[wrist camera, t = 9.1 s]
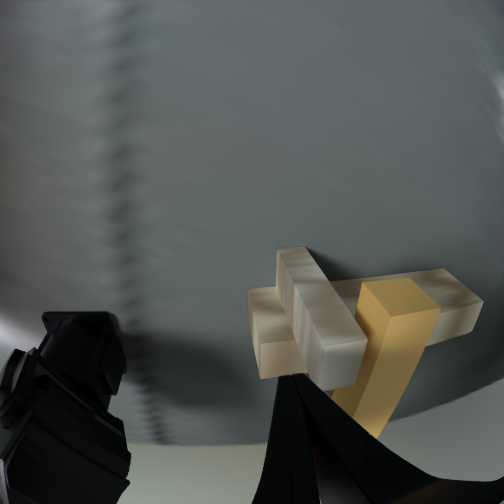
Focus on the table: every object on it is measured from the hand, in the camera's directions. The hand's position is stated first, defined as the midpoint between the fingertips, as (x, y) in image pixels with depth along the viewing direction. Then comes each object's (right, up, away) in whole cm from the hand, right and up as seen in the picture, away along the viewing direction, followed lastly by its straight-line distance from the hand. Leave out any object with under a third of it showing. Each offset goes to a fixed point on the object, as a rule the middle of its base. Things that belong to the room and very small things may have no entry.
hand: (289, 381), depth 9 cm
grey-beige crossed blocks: (+7, +2, +13) cm, 15 cm away
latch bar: (+6, -5, +8) cm, 11 cm away
